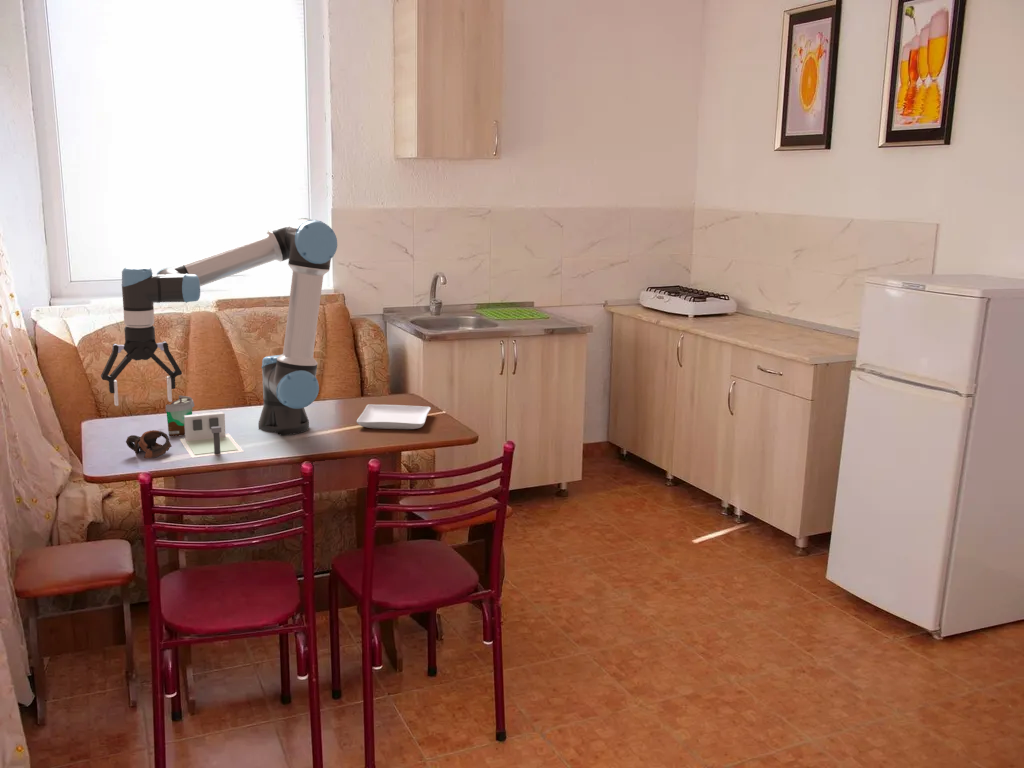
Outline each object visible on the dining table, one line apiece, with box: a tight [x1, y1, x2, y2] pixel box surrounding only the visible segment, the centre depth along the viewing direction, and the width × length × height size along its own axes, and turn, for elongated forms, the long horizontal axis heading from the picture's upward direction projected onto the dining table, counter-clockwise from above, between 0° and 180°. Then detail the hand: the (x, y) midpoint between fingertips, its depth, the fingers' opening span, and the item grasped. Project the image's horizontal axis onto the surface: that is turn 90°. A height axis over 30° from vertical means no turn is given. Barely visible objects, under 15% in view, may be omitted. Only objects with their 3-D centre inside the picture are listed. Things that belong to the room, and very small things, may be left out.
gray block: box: [211, 426, 221, 455], centre depth 257 cm, size 2×2×8 cm
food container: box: [165, 395, 195, 437], centre depth 280 cm, size 12×6×10 cm, turn 0°
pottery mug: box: [125, 429, 173, 459], centre depth 256 cm, size 12×10×8 cm
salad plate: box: [356, 403, 432, 430], centre depth 297 cm, size 21×21×3 cm
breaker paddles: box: [193, 418, 219, 431], centre depth 270 cm, size 7×1×3 cm, turn 118°
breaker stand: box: [179, 411, 245, 458], centre depth 265 cm, size 14×20×8 cm
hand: (143, 402), depth 253 cm, fingers open, 13 cm apart
